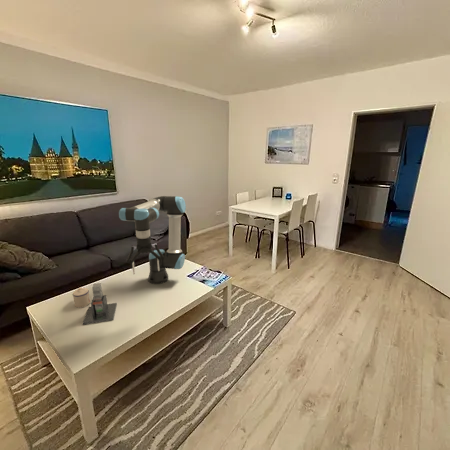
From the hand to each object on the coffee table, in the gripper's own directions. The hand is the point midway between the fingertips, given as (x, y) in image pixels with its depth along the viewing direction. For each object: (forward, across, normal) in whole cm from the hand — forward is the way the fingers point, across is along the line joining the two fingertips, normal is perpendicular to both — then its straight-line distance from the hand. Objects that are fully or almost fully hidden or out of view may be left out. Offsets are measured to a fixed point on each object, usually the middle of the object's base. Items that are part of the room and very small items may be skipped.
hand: (146, 271), depth 143 cm
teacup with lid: (+28, -42, +26) cm, 56 cm away
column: (+26, -28, +9) cm, 40 cm away
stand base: (+28, -28, +9) cm, 41 cm away
